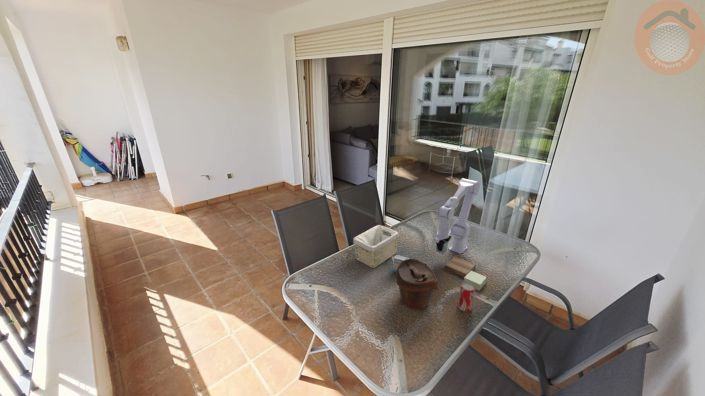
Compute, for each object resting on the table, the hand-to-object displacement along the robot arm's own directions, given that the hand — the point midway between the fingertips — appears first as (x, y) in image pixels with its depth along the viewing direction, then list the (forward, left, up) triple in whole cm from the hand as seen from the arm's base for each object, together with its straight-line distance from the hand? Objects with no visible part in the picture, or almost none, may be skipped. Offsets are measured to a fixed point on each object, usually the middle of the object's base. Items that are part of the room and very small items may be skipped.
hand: (441, 249), depth 158 cm
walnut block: (-1, +11, -9) cm, 14 cm away
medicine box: (+23, -11, -9) cm, 27 cm away
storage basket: (+21, -31, -9) cm, 38 cm away
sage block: (+6, +22, -9) cm, 24 cm away
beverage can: (+26, +26, -9) cm, 38 cm away
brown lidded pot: (+37, +7, -9) cm, 38 cm away
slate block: (0, 0, -2) cm, 2 cm away
